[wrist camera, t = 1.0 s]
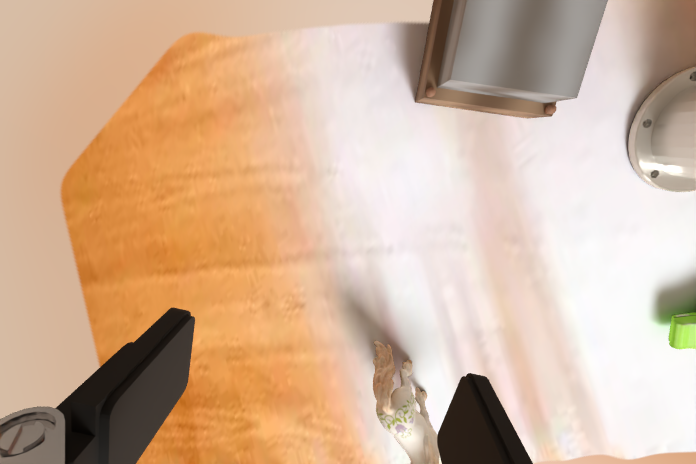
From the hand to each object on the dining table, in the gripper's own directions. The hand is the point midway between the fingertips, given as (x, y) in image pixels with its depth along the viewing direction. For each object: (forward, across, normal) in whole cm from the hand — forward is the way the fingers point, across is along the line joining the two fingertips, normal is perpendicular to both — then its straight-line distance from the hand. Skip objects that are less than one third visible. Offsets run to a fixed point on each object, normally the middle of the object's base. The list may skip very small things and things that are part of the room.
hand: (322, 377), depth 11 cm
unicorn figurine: (+28, -16, +21) cm, 38 cm away
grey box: (+28, -10, -19) cm, 35 cm away
